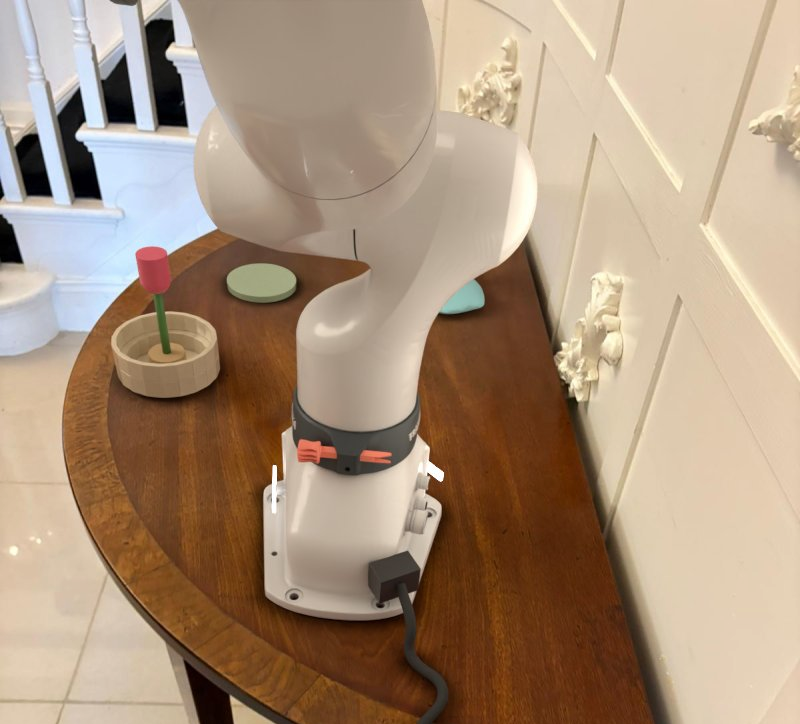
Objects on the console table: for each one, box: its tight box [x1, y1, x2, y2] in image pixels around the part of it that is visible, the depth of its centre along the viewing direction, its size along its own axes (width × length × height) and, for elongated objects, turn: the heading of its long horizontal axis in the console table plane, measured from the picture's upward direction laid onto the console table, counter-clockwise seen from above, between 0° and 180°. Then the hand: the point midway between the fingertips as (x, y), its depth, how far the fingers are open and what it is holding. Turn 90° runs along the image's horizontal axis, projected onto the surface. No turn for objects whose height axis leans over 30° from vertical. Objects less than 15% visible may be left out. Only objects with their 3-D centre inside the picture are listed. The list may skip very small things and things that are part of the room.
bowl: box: [110, 310, 221, 399], centre depth 96 cm, size 12×12×5 cm
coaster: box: [226, 262, 297, 304], centre depth 114 cm, size 10×10×1 cm
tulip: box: [134, 245, 187, 364], centre depth 92 cm, size 4×4×15 cm
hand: (248, 22), depth 74 cm, fingers open, 8 cm apart
